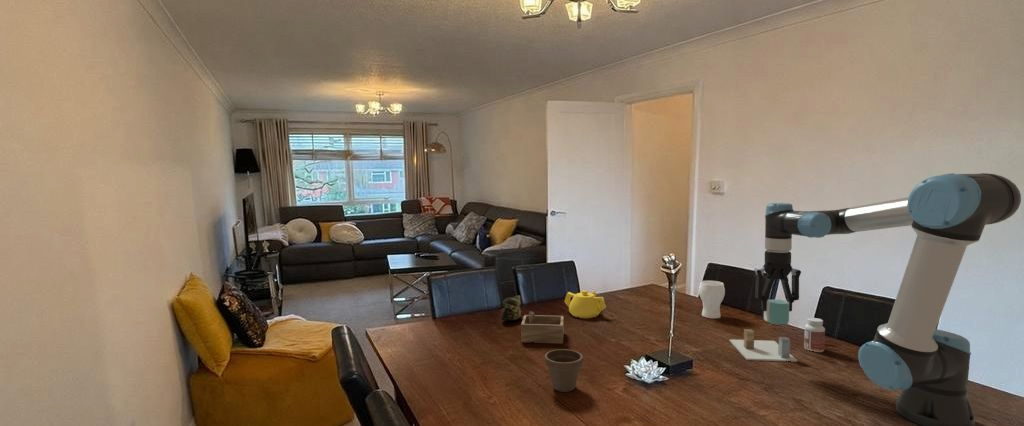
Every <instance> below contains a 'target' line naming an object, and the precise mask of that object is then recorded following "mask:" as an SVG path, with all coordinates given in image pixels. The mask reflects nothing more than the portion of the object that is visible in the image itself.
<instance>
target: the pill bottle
mask: <svg viewBox="0 0 1024 426" xmlns="http://www.w3.org/2000/svg"><path fill="white" fill-rule="evenodd" d="M806 322H807V323H806V324H805V326H804V335H803V336H804V338H803V339H804V341H803V348H804V349H805V350H806V349H807V350H806V351H809V350H810V352H812V351H814V352H813V353H823V352H824V351H825V344H826V343H825V341H826V338H825V337H826V328H825V327H824V326H823V324H824V320H823V319H822V318H816V317H808V318H807V320H806Z"/></svg>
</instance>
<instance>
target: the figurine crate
mask: <svg viewBox="0 0 1024 426" xmlns="http://www.w3.org/2000/svg"><path fill="white" fill-rule="evenodd" d="M528 315H529V314H524V315H523V317H522V321H521V324H520V334H521V335H520V336H521V337H520V338H521V340H520V342H521V343H531V342H534V343H536V344H537V343H538V344H564V333H565V332H564V331H565V330H564V328H565V327H564V325H565V324H564V321H565V319H564V317H565V316H564V315H547V314H546V315H545V314H543V315H542V314H541V315H540V314H539V315H537V314H536V315H535V314H534V324H529V316H528Z"/></svg>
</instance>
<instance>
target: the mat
mask: <svg viewBox="0 0 1024 426" xmlns="http://www.w3.org/2000/svg"><path fill="white" fill-rule="evenodd" d="M729 342H730V343H731V344H732V345H733V347H734V348H735V349H736V350H737V351H738V352H739V354H740V355H742V357H744V359H746V361H757V362H758V361H760V362H761V361H763V362H764V361H765V362H786V361H787V362H788V361H791V362H792V363H793V362H794V363H797V362H798V359H796V358H795V357H794V356H793V355H792V354H791V353H790V358H781V357H780V356H779V355H778V345H779V342H778V343H777V341H775V340H762V339H761V340H760V339H759V340H758V339H757V340H756V339H754V349H746V348H745V347H744V339H729ZM791 362H790V363H791ZM788 363H789V362H788Z"/></svg>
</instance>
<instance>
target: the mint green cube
mask: <svg viewBox="0 0 1024 426" xmlns="http://www.w3.org/2000/svg"><path fill="white" fill-rule="evenodd" d="M768 301H769V302H770V321H769V322H768V323H769V324H770V325H772V324H773V325H789V322H788V309H789V304H788V303H786V302H784V301H783V299H768Z"/></svg>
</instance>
